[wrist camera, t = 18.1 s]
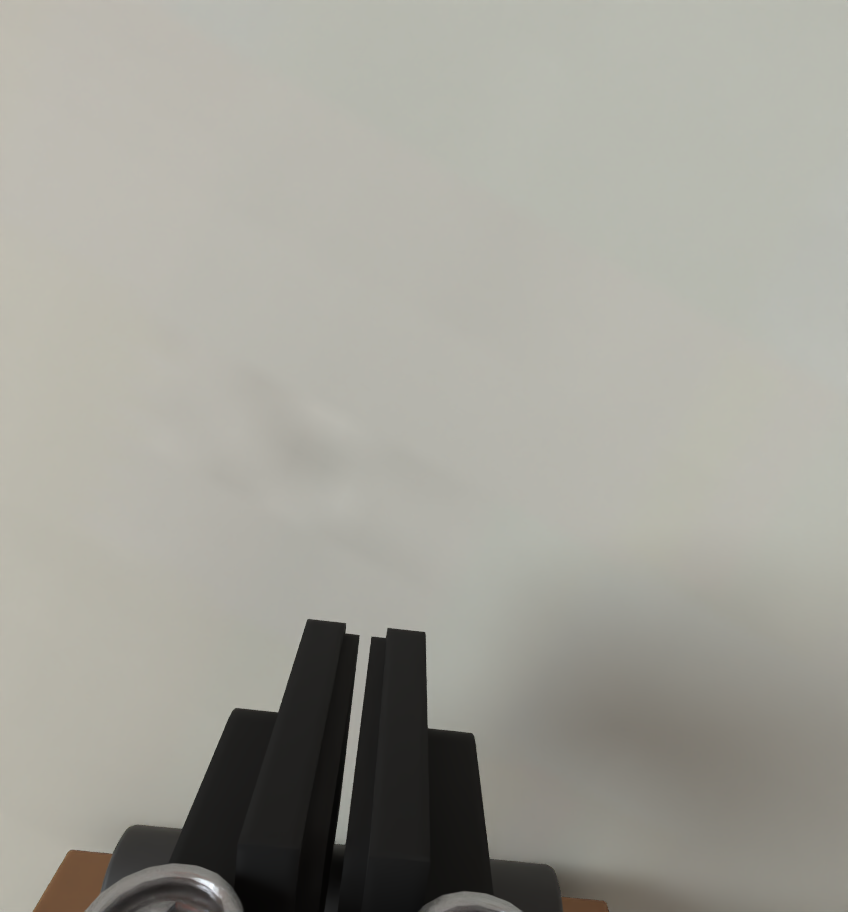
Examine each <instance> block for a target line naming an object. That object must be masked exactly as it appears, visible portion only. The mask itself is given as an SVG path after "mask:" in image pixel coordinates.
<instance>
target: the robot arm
mask: <svg viewBox="0 0 848 912" xmlns="http://www.w3.org/2000/svg"><path fill="white" fill-rule="evenodd" d="M345 632H346V623H338V622H329V621H320V620H312V619H308V620H307V623H306V626H305V629H304V632H303V635H302V639H301V642H300V645H299V648H298V651H297V655H296V658H295V661H294V664H293V667H292V671H291V674H290V677H289V680H288V683H287V687H286V690H285V693H284V696H283V699H282V703H281V706H280V709H279V712H278V713H277V712H268V711H258V710H249V709H239V708H235V709H234V710H233V711H232V713H231V715H230V717H229V719H228V721H227V724H226V726H225V729H224V731H223V733H222V736H221V738H220V740H219V743H218V745H217V748H216V750H215V752H214V755H213V757H212V760H211V762H210V764H209V767H208V769H207V772H206V774H205V776H204V779H203V781H202V784H201V786H200V788H199V791H198V793H197V795H196V798H195V800H194V803H193V805H192V807H191V810H190V812H189V815H188V817H187V819H186V822H185V824H184V827H183V829H182V831H181V834H180V836H179V839H178V841H177V843H176V846H175V848H174V850H173V853H172V855H171V858H170V860H169V862H168V864H166V865H160V866H154V867H148V868H146V869H143V870H141V871H138V872H136V873H133V874H131V875H128V876H126V877H123V878H122V879H121V880H119V881H118V882H116V883H115V884H113V885H112V886H110V887H109V888H107V889H106V890H105V891H103V892H102V893H101V894H100V895H99V896H98V897H97V898H96V899H95V900H94V901H93V902H92V904H91V905H90V906H89V907H88V908H87V909H86V910H85V911H84V912H324V911H325V904H326V897H327V891H328V884H329V877H330V870H331V863H332V856H333V849H334V842H335V835H336V828H337V821H338V814H339V806H340V799H341V790H342V782H343V773H344V765H345V756H346V748H347V739H348V731H349V722H350V714H351V705H352V697H353V688H354V679H355V671H356V662H357V654H358V645H359V635H353V634H345ZM338 912H523V911H521V910H520V909H518V908H517V907H516V906H514V905H513V904H511V903H510V902H508V901H505V900H503V899H500V898H497V897H495V896H494V892H493V884H492V876H491V867H490V859H489V851H488V843H487V834H486V826H485V818H484V810H483V802H482V793H481V785H480V777H479V769H478V760H477V752H476V744H475V739H474V735H473V734H472V733H466V732H456V731H447V730H437V729H428V725H427V679H426V635H425V632H419V631H410V630H401V629H392V628H388V629H387V636H386V638H380V637H372V638H371V646H370V654H369V662H368V670H367V678H366V686H365V694H364V702H363V710H362V718H361V726H360V734H359V742H358V750H357V758H356V766H355V775H354V783H353V791H352V799H351V807H350V815H349V823H348V831H347V839H346V847H345V855H344V863H343V871H342V880H341V888H340V896H339V904H338Z"/></svg>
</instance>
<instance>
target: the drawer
mask: <svg viewBox="0 0 848 912" xmlns="http://www.w3.org/2000/svg"><path fill="white" fill-rule="evenodd" d="M181 831H182V829H176V828H166V827H155V826H145V825H134V826H131V827H129V828H128V829H127V830H126V831H125V832H124V834H123V835H122V837H121V839H120V840H119V842H118V844H117V846H116V848H115V850H114V852H113V854H109V853H99V852H88V851H78V850H70V851H69V852H68V853H67V855H66V857H65V858H64V860H63V862H62V863H61V865H60V867H59V868H58V870H57V872H56V873H55V875H54V877H53V878H52V880H51V882H50V883H49V885H48V887H47V888H46V890H45V892H44V894H43V895H42V897H41V899H40V900H39V902H38V904H37V905H36V907H35V909H34V910H33V912H84V911H85V910H86V909H87V908H88V907H89V906H90V905H91V904H92V902H93V901H94V900H95V899H96V898H97V897H98V896H99V895H100V894H101V893H102V892H103V891H105V890H106V889H107V888H109V887H110V886H112V885H113V884H115V883H116V882H118V881H119V880H121V879H122V878H123V877H126V876H128V875H131V874H133V873H136V872H138V871H141V870H143V869H146V868H148V867H154V866H160V865H166V864H168V862H169V860H170V858H171V855H172V853H173V850H174V848H175V846H176V843H177V841H178V839H179V836H180V834H181ZM345 847H346V845H340V844H334V849H333V856H332V863H331V870H330V877H329V884H328V891H327V897H326V904H325V911H324V912H338V904H339V896H340V888H341V880H342V871H343V863H344V855H345ZM490 867H491V876H492V884H493V892H494V896H495V897H497V898H500V899H503V900H505V901H508V902H510V903H511V904H513V905H514V906H516V907H517V908H518V909H520V910H521V911H523V912H609V910H608V907H607V903H606V902H605V901H601V900H591V899H580V898H570V897H561V892H560V887H559V883H558V879H557V876H556V874H555V871H554V870H553V868H552V867H550V866H548V865H546V864H535V863H525V862H515V861H505V860H494V859H490Z"/></svg>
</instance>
